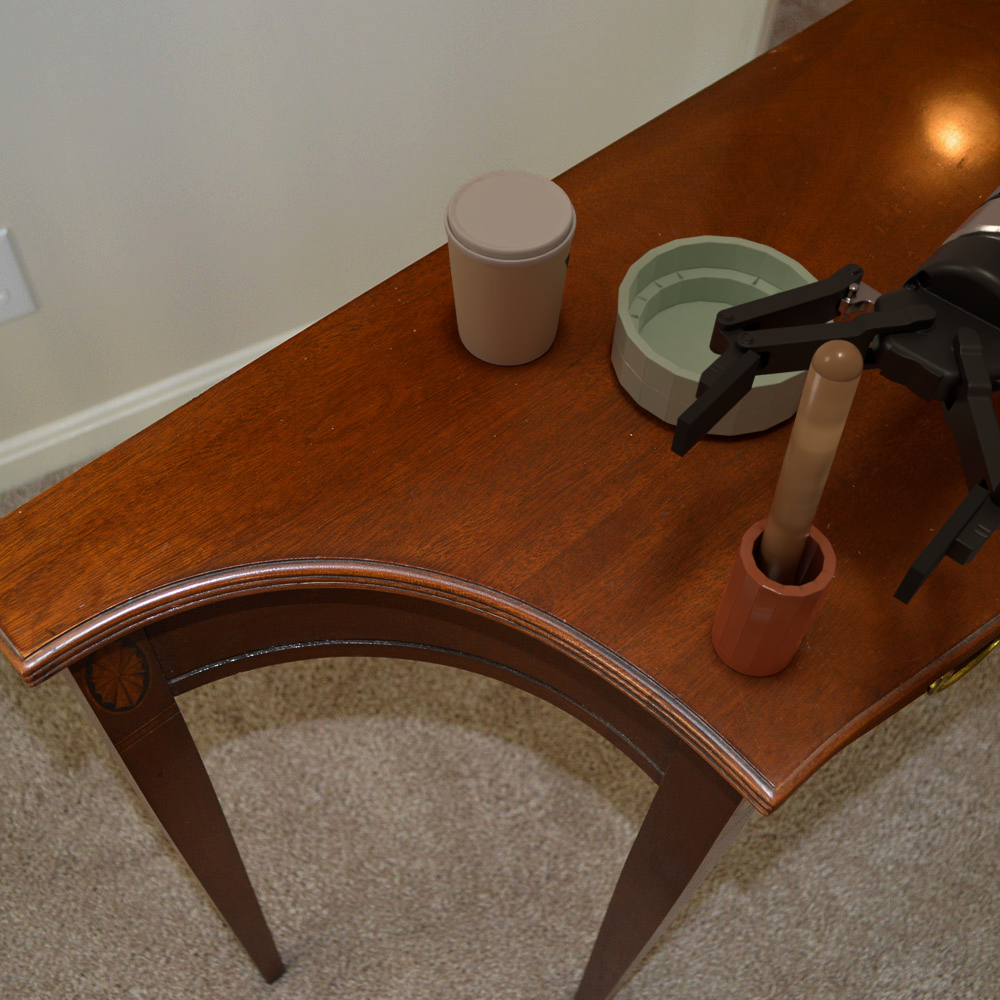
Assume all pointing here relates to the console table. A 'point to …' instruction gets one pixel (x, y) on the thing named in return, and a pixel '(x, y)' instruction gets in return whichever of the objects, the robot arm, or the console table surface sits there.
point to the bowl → (699, 326)
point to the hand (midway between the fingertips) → (788, 509)
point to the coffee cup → (509, 263)
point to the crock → (769, 606)
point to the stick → (809, 457)
